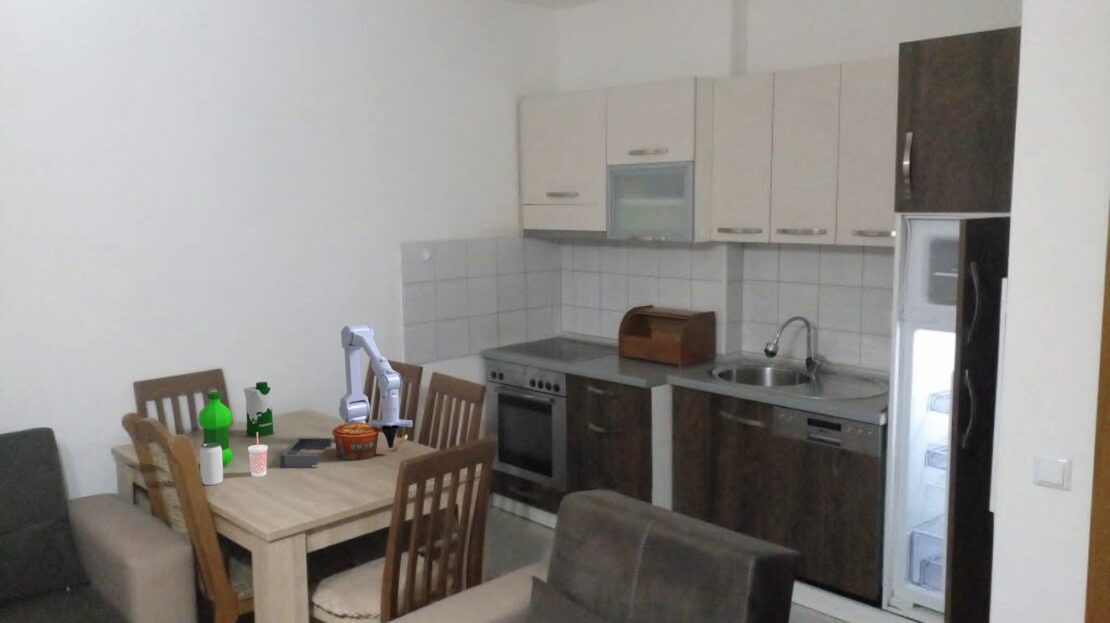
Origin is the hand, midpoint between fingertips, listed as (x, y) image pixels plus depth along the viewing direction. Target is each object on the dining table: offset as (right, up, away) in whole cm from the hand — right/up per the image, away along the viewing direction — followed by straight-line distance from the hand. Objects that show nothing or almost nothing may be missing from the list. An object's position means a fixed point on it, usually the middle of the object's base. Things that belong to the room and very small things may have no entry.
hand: (390, 446), depth 300 cm
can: (-51, -7, -27) cm, 58 cm away
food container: (-12, -4, 0) cm, 12 cm away
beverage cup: (-39, -6, -19) cm, 44 cm away
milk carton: (-55, 0, +28) cm, 62 cm away
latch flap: (+1, 0, +7) cm, 7 cm away
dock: (-29, -4, 0) cm, 29 cm away
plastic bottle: (-55, -5, -11) cm, 57 cm away
